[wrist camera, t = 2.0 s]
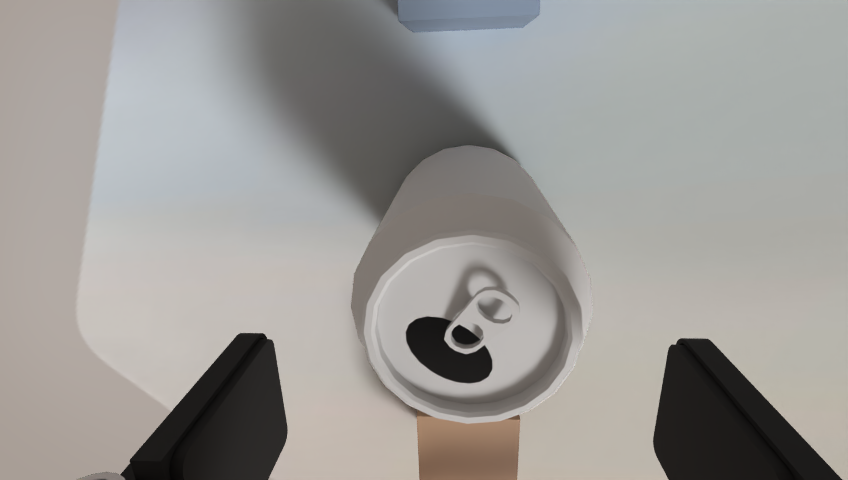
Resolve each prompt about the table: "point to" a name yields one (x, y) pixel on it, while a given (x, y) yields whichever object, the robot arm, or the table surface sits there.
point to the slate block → (466, 14)
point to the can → (471, 290)
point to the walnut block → (467, 449)
